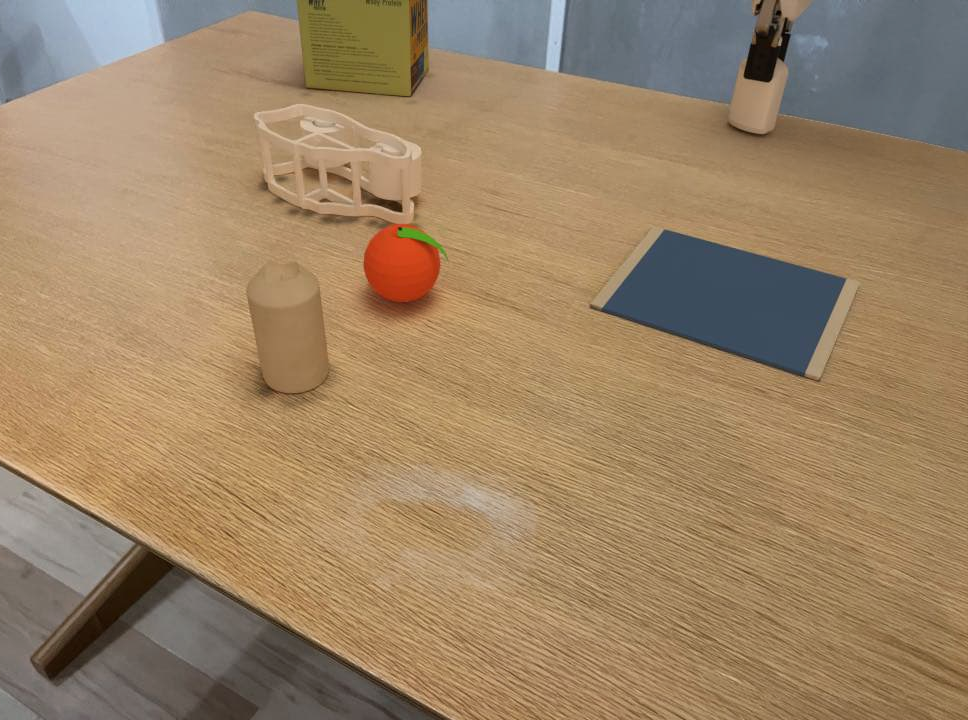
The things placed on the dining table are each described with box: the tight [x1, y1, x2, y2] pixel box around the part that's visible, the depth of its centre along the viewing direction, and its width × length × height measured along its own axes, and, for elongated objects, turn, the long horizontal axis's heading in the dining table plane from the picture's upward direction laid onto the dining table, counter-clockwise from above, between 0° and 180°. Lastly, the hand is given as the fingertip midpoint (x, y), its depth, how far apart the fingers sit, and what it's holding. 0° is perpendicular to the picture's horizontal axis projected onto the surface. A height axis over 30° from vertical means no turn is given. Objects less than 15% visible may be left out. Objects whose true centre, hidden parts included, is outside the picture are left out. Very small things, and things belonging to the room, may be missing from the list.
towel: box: [589, 225, 861, 382], centre depth 75 cm, size 20×16×1 cm
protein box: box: [296, 0, 430, 97], centre depth 111 cm, size 10×15×16 cm
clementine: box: [363, 224, 450, 303], centre depth 74 cm, size 8×7×7 cm
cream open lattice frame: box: [253, 103, 423, 225], centre depth 88 cm, size 20×11×7 cm, turn 46°
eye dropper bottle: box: [727, 24, 789, 135], centre depth 98 cm, size 4×6×12 cm
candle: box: [245, 260, 330, 394], centre depth 65 cm, size 6×6×10 cm
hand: (763, 71), depth 97 cm, fingers closed on eye dropper bottle, 3 cm apart
